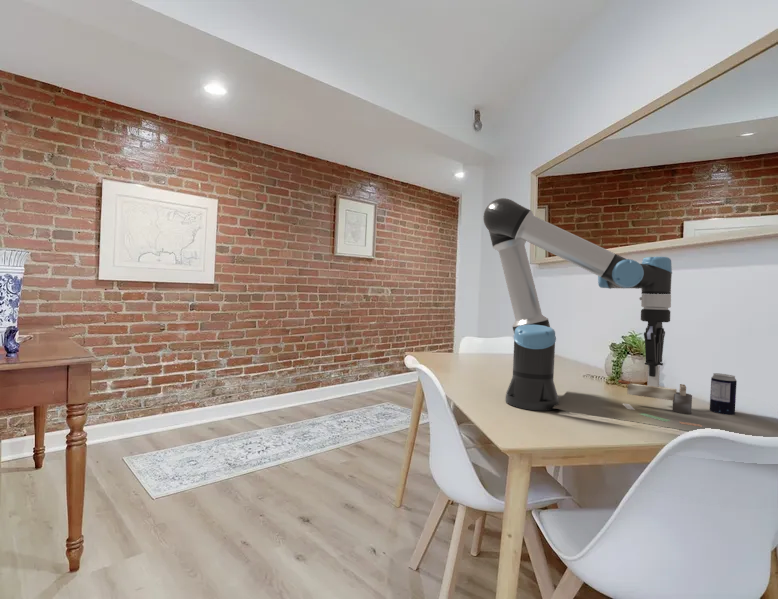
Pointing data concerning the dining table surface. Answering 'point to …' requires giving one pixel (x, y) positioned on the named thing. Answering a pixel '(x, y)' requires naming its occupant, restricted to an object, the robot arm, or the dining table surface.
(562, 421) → the dining table surface
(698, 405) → the dining table surface
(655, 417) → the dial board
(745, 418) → the dining table surface
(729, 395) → the beverage can
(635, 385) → the peg lever
